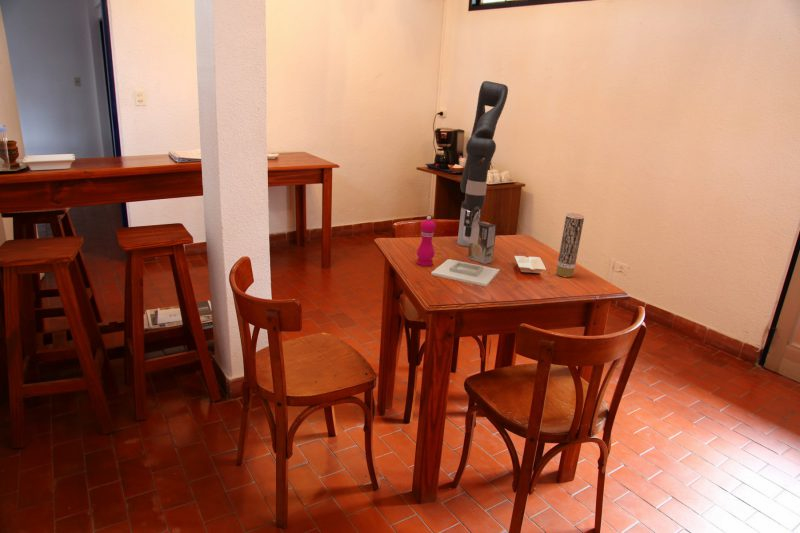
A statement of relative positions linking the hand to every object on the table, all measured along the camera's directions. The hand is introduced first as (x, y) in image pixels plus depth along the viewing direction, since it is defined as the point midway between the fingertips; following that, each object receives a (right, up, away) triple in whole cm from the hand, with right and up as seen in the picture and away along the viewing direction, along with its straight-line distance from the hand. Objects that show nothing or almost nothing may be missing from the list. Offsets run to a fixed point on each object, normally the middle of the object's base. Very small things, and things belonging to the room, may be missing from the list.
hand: (470, 234), depth 207 cm
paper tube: (+40, -16, +12) cm, 44 cm away
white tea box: (0, -3, +1) cm, 3 cm away
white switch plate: (-1, -15, +5) cm, 16 cm away
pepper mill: (-17, -12, +13) cm, 24 cm away
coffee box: (+7, -10, +23) cm, 26 cm away
